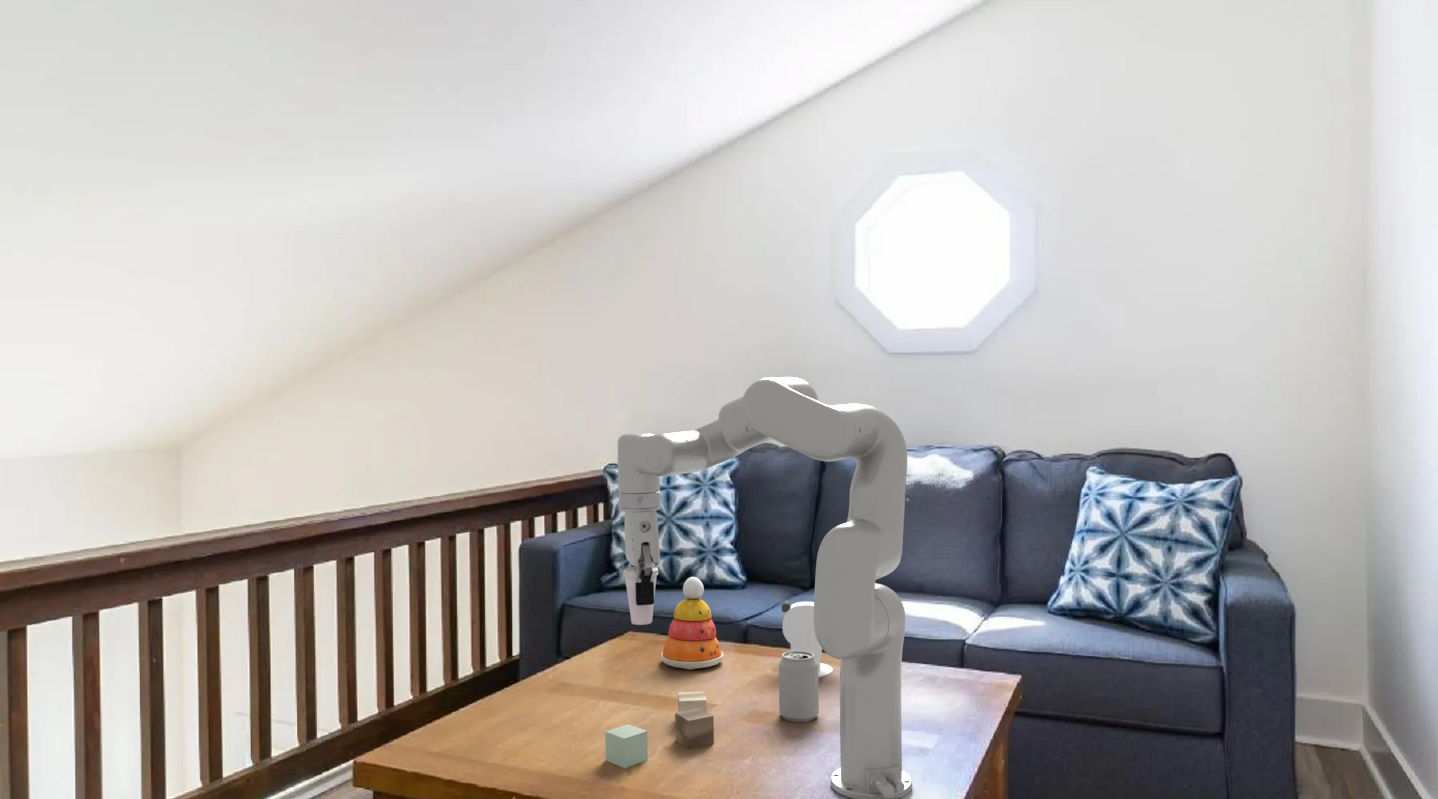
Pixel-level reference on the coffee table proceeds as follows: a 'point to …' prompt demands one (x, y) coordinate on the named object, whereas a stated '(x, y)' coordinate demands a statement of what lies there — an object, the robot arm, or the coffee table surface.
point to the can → (798, 686)
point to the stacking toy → (692, 632)
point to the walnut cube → (694, 728)
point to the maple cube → (691, 701)
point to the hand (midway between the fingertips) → (641, 599)
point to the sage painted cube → (626, 745)
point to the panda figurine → (803, 632)
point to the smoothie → (641, 612)
